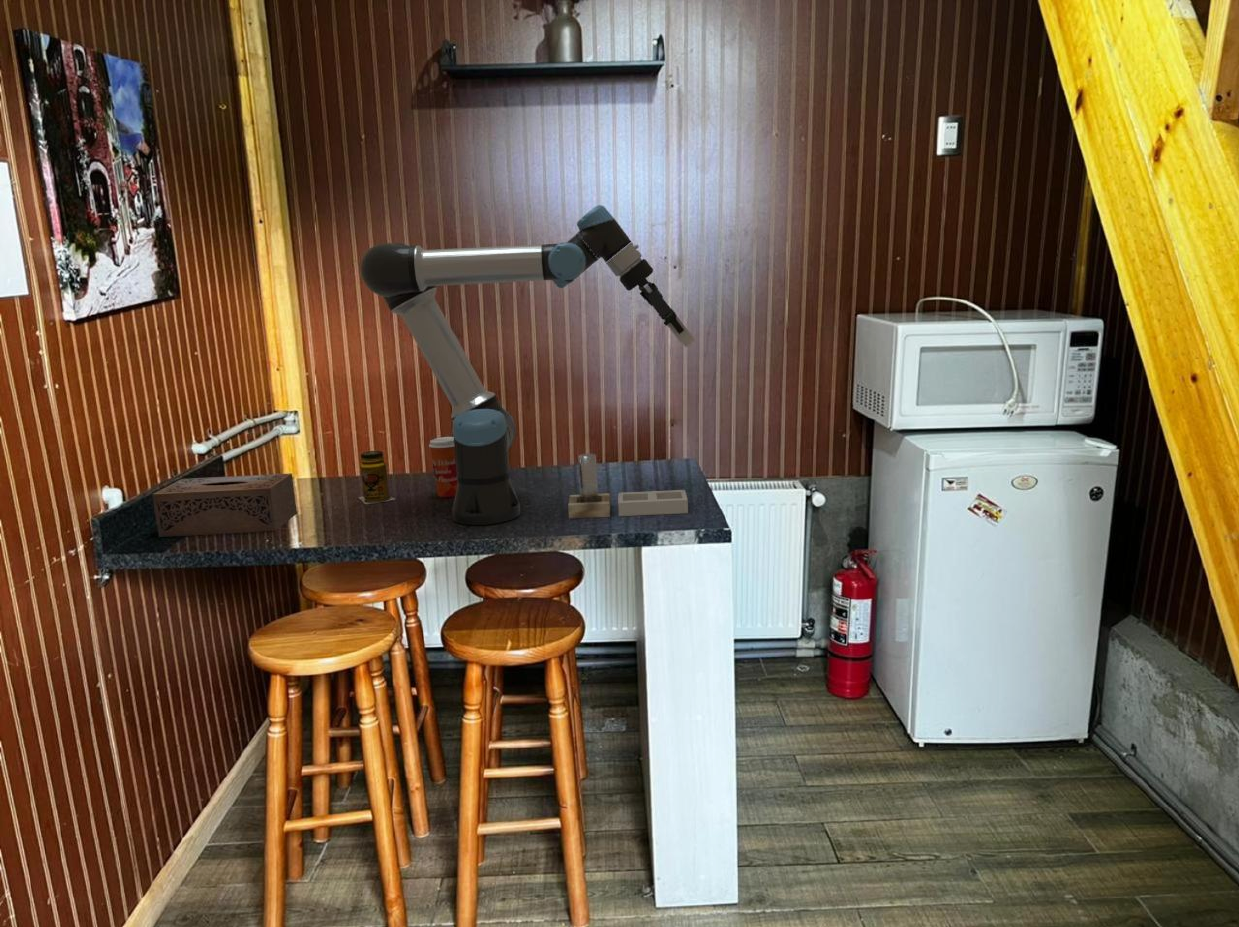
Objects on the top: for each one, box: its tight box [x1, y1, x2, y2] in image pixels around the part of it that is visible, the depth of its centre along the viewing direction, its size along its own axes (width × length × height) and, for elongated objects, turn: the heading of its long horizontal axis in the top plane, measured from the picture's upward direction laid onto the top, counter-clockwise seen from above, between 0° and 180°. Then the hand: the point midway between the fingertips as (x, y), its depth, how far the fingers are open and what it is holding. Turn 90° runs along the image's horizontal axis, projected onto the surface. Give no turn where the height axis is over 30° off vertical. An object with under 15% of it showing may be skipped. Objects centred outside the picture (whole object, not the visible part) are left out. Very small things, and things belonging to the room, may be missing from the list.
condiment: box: [358, 450, 396, 505], centre depth 223 cm, size 7×8×12 cm
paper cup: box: [428, 436, 458, 498], centre depth 223 cm, size 8×8×14 cm
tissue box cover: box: [151, 472, 298, 538], centre depth 206 cm, size 26×14×10 cm, turn 91°
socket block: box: [567, 492, 611, 519], centre depth 203 cm, size 9×9×3 cm
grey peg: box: [577, 453, 599, 503], centre depth 202 cm, size 4×4×13 cm
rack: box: [617, 489, 689, 517], centre depth 203 cm, size 15×9×3 cm, turn 90°
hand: (687, 341), depth 209 cm, fingers open, 13 cm apart
